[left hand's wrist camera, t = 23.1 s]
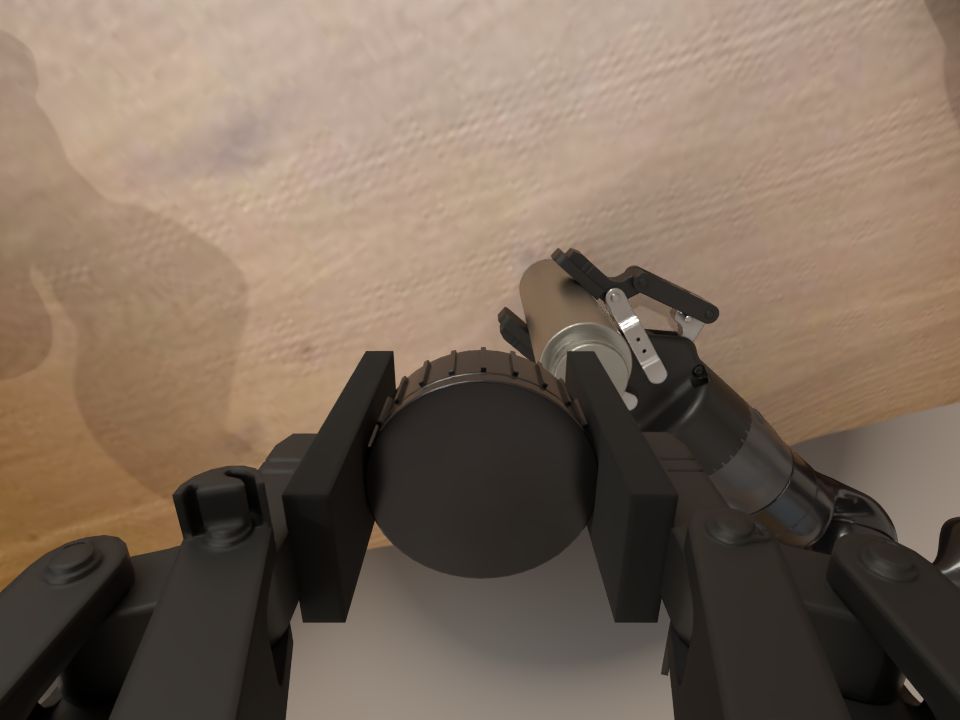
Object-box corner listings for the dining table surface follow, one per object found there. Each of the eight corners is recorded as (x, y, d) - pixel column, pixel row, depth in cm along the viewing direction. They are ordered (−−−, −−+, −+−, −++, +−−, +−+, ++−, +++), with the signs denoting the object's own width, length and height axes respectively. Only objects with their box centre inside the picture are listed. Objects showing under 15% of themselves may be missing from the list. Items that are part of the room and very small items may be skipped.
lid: (608, 362, 11) (629, 395, 10) (563, 540, 13) (575, 593, 12) (384, 331, 11) (368, 361, 10) (369, 517, 13) (354, 568, 11)
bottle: (584, 265, 39) (654, 343, 22) (568, 320, 41) (624, 431, 24) (526, 253, 39) (555, 323, 22) (513, 309, 40) (531, 414, 24)
